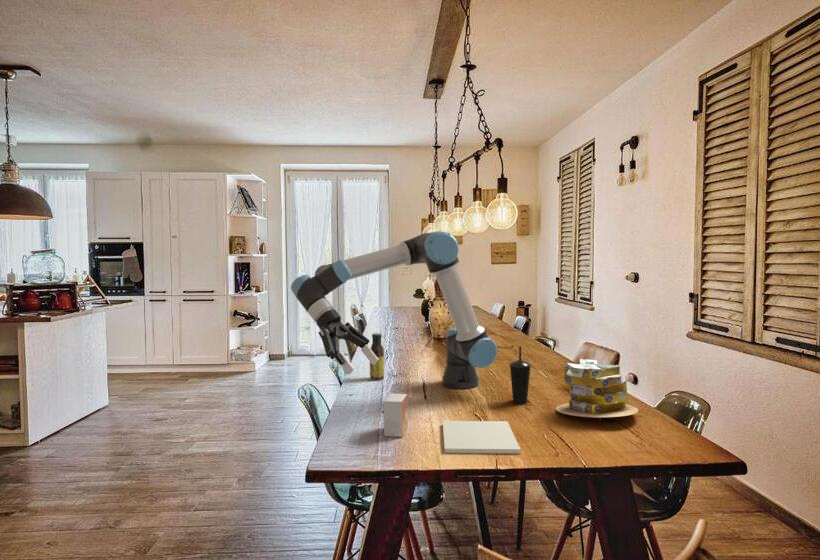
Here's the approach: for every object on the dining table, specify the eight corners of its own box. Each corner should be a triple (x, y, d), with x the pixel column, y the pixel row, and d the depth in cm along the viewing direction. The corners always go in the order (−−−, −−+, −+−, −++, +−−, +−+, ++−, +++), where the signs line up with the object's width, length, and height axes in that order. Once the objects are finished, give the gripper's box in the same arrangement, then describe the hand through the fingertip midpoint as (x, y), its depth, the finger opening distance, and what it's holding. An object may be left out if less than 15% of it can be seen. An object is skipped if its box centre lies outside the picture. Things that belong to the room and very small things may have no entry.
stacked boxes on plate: (542, 405, 155) (542, 358, 154) (604, 399, 161) (604, 354, 160) (585, 432, 131) (586, 376, 130) (656, 424, 137) (657, 370, 136)
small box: (402, 437, 129) (402, 402, 128) (383, 436, 130) (383, 401, 129) (408, 427, 137) (407, 393, 136) (390, 426, 138) (390, 392, 137)
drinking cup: (532, 399, 161) (532, 345, 160) (529, 406, 154) (529, 349, 153) (511, 397, 164) (511, 343, 163) (507, 403, 158) (507, 347, 157)
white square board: (442, 424, 138) (442, 421, 138) (507, 425, 137) (507, 421, 137) (444, 452, 118) (444, 448, 118) (520, 453, 117) (520, 449, 117)
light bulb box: (598, 394, 167) (599, 365, 167) (579, 392, 170) (579, 364, 169) (597, 386, 177) (597, 359, 177) (579, 384, 180) (579, 358, 179)
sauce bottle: (370, 377, 195) (369, 332, 194) (384, 376, 195) (383, 331, 194) (369, 381, 188) (369, 334, 187) (384, 380, 189) (384, 334, 188)
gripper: (341, 318, 156) (378, 365, 149) (291, 328, 134) (332, 384, 127) (353, 304, 153) (391, 351, 147) (305, 312, 131) (347, 368, 125)
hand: (364, 367), depth 137 cm, fingers open, 13 cm apart
